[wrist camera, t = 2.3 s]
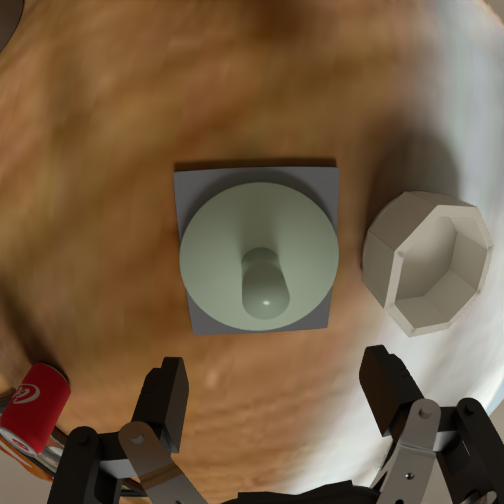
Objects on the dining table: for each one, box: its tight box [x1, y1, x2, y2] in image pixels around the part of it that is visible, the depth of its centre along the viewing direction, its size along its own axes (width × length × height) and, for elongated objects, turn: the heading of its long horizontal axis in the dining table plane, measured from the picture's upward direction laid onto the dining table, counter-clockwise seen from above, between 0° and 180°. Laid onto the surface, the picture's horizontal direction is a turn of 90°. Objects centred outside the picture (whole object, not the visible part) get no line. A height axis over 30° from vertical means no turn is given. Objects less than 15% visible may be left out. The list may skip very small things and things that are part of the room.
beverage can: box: [0, 363, 71, 457], centre depth 23 cm, size 6×6×12 cm
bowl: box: [361, 191, 494, 337], centre depth 21 cm, size 11×11×5 cm
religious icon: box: [0, 393, 148, 497], centre depth 38 cm, size 38×35×3 cm
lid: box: [179, 181, 339, 331], centre depth 20 cm, size 12×12×6 cm
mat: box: [173, 166, 339, 335], centre depth 23 cm, size 14×12×1 cm
